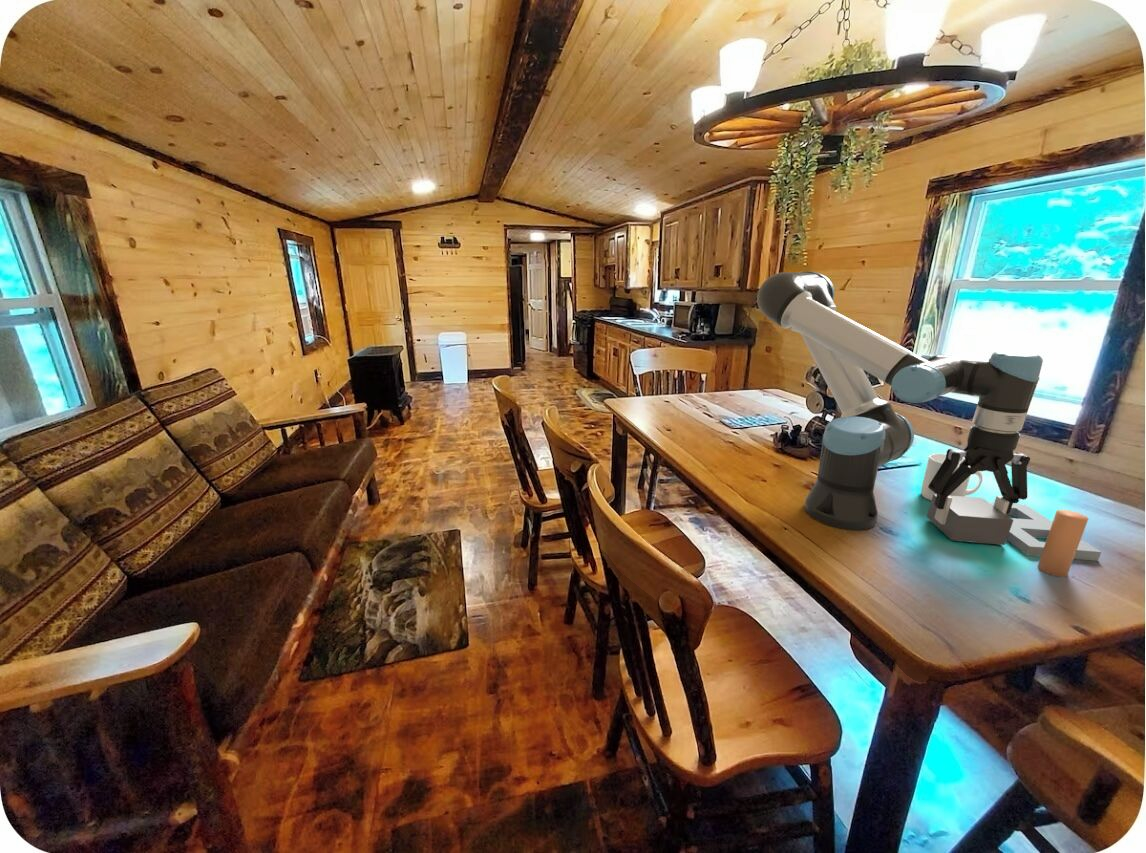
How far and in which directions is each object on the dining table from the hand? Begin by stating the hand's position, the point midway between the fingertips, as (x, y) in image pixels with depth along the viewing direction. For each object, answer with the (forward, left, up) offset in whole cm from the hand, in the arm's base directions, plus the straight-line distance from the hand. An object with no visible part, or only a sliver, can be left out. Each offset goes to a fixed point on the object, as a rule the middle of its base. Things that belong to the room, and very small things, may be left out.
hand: (966, 523), depth 98 cm
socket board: (+13, +3, -2) cm, 14 cm away
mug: (+6, +18, -3) cm, 19 cm away
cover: (0, 0, -2) cm, 2 cm away
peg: (+8, -12, -2) cm, 15 cm away
